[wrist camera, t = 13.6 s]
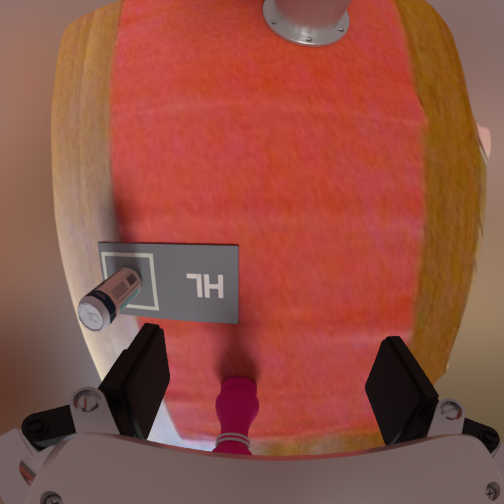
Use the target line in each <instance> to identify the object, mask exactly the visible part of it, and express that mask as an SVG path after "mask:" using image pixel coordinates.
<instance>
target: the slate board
mask: <svg viewBox="0 0 504 504" xmlns="http://www.w3.org/2000/svg"><path fill="white" fill-rule="evenodd" d="M98 247H99V255H100V263H101V270H102V276H103V281H104V280H106V279H107V278H108V277H110V276H111V275H112V274H113V273H115V272H116V271H117V270H119V269H120V268H123V267H128V268H131V269H133V270H134V271H135V272H136V273H137V274H138V275H139V277H140V279H141V283H142V287H141V290H140V292H139V293H138V294H137V295H136V296H135V297H134V298H133V299H132V300H131V301H130V303H129V304H128V305H127V306H126V307H125V308H124V309H123V310H122V311H121V313H120V314H126V315H134V316H143V317H152V318H162V319H173V320H184V321H198V322H213V323H232V324H238V252H239V246H229V245H186V244H138V243H98Z"/></svg>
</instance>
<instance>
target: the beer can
mask: <svg viewBox="0 0 504 504" xmlns="http://www.w3.org/2000/svg"><path fill="white" fill-rule="evenodd" d="M141 287H142V283H141V279H140V277H139V275H138V274H137V273H136V272H135V271H134V270H133V269H131V268H128V267H123V268H120V269H119V270H117V271H116V272H115V273H113V274H112V275H111V276H110V277H108V278H107V279H106V280H104V281H103V282H102V283H101V284H99V285H98V286H97V287H96V288H94V289H93V290H92V291H91V292H89V293H88V294H87V295H86V296H84V297H83V298H82V299H81V301H80V302H79V306H78V317H79V319H80V321H81V322H82V324H83V325H84V327H86V328H87V329H89V330H91V331H103V330H106V329H107V328H108V327H109V325H110V324H111V323H112V321H113V320H114V319H115V318H116V317H117V316H118V315H119V314H120V313H121V311H122V310H123V309H124V308H125V307H126V306H127V305H128V304H129V303H130V301H131V300H132V299H133V298H134V297H135V296H136V295H137V294H138V293H139V292H140V290H141Z"/></svg>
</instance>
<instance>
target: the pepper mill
mask: <svg viewBox="0 0 504 504" xmlns="http://www.w3.org/2000/svg"><path fill="white" fill-rule="evenodd" d="M256 394H257V388H256V385H255V384H254V382H253V381H251V380H250V379H248V378H245V377H240V376H237V377H230V378H228V379H226V380H225V381H224V382H223V383H222V386H221V392H220V394H219V395H218V397H217V399H216V406H215V408H216V413H217V416H218V418H219V421H220V424H221V434H220V435H219V436H218V437H217V439H216V444H215V445H216V448H215V449H213V451H212V452H219V453H229V454H241V455H252V453H251V452H250V451H249V450H250V444H251V441H250V439H249V438H248V430H249V427H250V425H251V423H252V422H253V421H254V419H255V418H256V416H257V414H258V410H259V401H258V399H257V397H256Z"/></svg>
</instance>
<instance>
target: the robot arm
mask: <svg viewBox="0 0 504 504" xmlns="http://www.w3.org/2000/svg"><path fill="white" fill-rule="evenodd" d="M350 2H351V0H265V1H264V3H263V17H264V20H265V22H266V24H267V25H268V27H269V28H270V29H271V30H272V31H273V32H274V33H276V34H277V35H278V36H280V37H281V38H283V39H285V40H287V41H289V42H292V43H295V44H299V45H303V46H310V47H320V46H327V45H330V44H333V43H335V42H337V41H339V40H340V39H341V38H342V37H343V36H344V35H345V33H346V32H347V30H348V28H349V22H350V20H349V15H348V12H347V10H346V9H347V8H348V6H349V4H350ZM308 41H309V42H308ZM169 381H170V372H169V366H168V359H167V353H166V345H165V338H164V331H163V329H161V328H160V327H159V325H157V324H150V323H145V324H144V325H143V327H142V328H141V330H140V331H139V333H138V334H137V335H136V337H135V338H134V340H133V341H132V343H131V344H130V346H129V347H128V349H125V350H123V351H122V353H121V354H120V356H119V357H118V359H117V360H116V362H115V363H114V365H113V366H112V368H111V369H110V371H109V372H108V374H107V375H106V377H105V378H104V380H103V381H102V383H101V384H100V386H99V387H98V389H96V388H93V387H83V388H80V389H78V390H76V391H75V392H74V393H73V394H72V395H71V397H70V400H69V405H66V406H62V407H58V408H55V409H51V410H47V411H43V412H38V413H34V414H31V415H29V416H28V417H26V418H25V419H24V421H23V423H22V426H21V427H22V428H21V429H20V430H17V428H15V429H13V430H11V431H10V432H8V433H6V434H4V435H2V436H0V496H1V498H2V500H3V501H4V503H5V504H504V442H502V443H501V444H500V443H499V442H500V438H499V435H498V433H497V432H496V431H495V430H494V429H493V428H491V427H489V426H485V425H483V424H480V423H478V422H475V421H473V420H470V419H467V418H465V410H464V407H463V406H462V405H461V404H460V403H459V402H457V401H456V400H454V399H443V400H441V401H440V402H439V400H438V396H439V395H438V393H437V392H436V390H435V389H434V387H433V385H432V384H431V382H430V381H429V379H428V378H427V376H426V374H425V373H424V371H423V370H422V368H421V367H420V365H419V364H418V362H417V361H416V359H415V358H414V356H413V355H412V353H411V352H410V350H409V349H408V347H407V346H406V345H405V343H404V342H403V340H402V339H401V337H400V336H388V337H386V338H385V340H383V341H382V342H381V345H380V348H379V351H378V354H377V356H376V359H375V362H374V364H373V367H372V369H371V372H370V374H369V377H368V379H367V382H366V384H365V391H366V393H367V396H368V399H369V401H370V404H371V407H372V409H373V412H374V415H375V417H376V420H377V423H378V426H379V428H380V431H381V434H382V437H383V440H384V442H385V445H386V446H383V447H377V448H371V449H365V450H358V451H351V452H342V453H332V454H320V455H302V456H260V455H241V454H229V453H219V452H210V451H203V450H196V449H190V448H184V447H178V446H172V445H167V444H162V443H157V442H152V441H148V440H146V439H147V438H148V436H149V433H150V430H151V428H152V425H153V423H154V420H155V417H156V415H157V412H158V410H159V407H160V404H161V402H162V399H163V397H164V394H165V392H166V389H167V387H168V384H169ZM143 439H144V440H143Z"/></svg>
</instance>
